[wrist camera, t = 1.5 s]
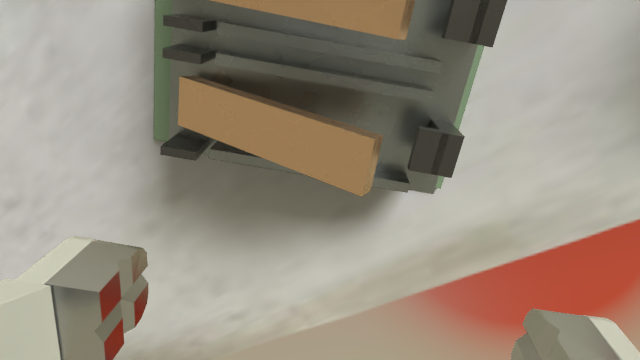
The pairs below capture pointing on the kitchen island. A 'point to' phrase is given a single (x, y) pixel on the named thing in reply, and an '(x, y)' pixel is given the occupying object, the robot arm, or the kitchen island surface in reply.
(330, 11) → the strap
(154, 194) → the kitchen island surface
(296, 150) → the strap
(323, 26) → the grey toaster
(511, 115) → the kitchen island surface
